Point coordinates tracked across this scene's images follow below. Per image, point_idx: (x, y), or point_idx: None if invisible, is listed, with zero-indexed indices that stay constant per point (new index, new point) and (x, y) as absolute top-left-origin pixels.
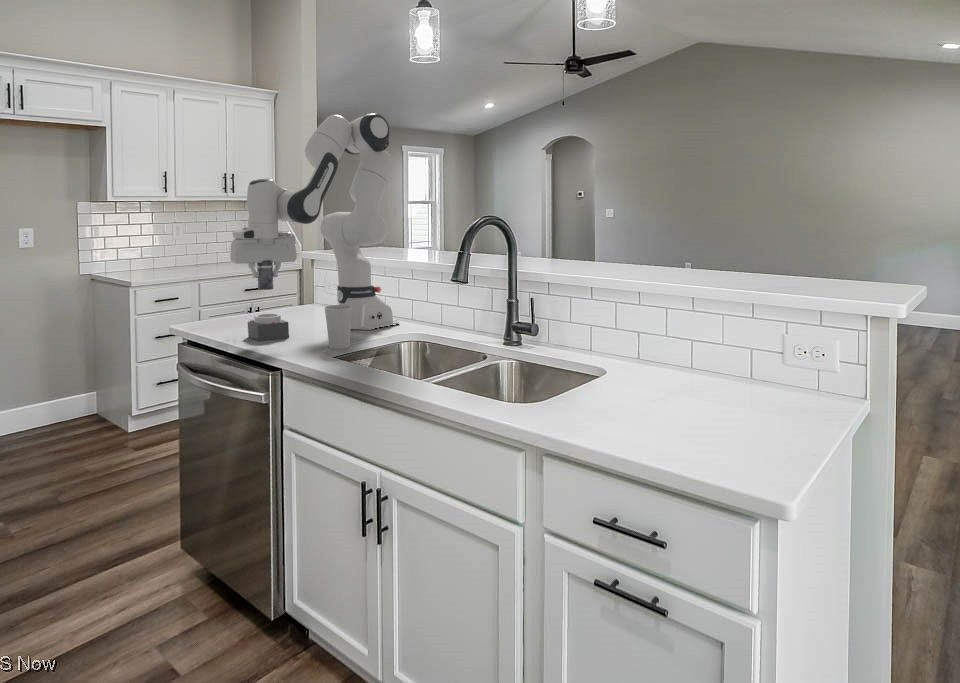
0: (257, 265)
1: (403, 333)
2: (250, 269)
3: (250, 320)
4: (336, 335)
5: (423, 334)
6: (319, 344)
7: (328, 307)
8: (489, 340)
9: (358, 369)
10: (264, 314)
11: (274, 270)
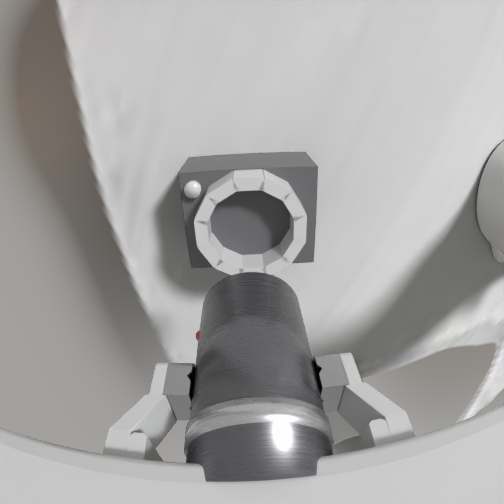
0: (187, 454)
1: (497, 317)
2: (130, 410)
3: (184, 192)
4: None
5: (501, 337)
6: (318, 345)
7: (347, 436)
8: (493, 393)
9: None
10: (252, 190)
11: (345, 399)
